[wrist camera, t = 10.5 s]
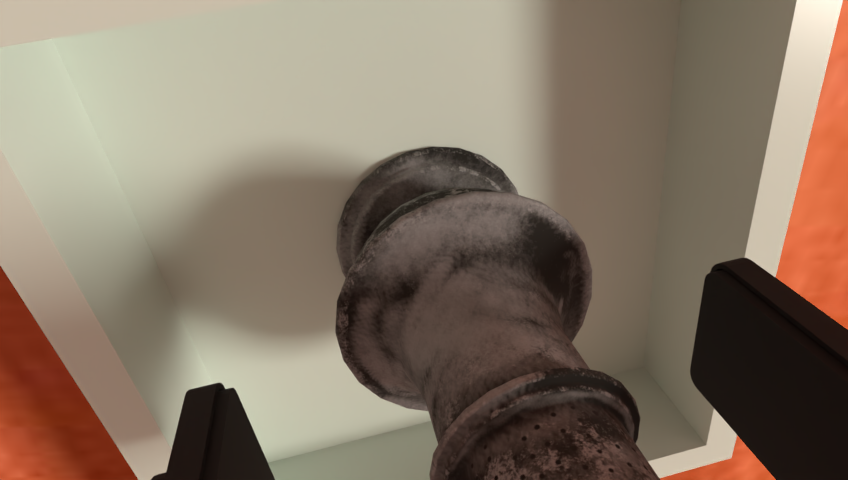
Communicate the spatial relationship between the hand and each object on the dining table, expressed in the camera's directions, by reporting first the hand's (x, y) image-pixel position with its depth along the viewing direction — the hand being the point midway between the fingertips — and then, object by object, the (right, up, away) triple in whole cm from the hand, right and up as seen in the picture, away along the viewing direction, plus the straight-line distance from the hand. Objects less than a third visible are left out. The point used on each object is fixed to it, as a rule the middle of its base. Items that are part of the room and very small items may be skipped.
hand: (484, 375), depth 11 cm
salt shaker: (-1, +3, +5) cm, 5 cm away
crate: (-1, +3, +5) cm, 6 cm away
